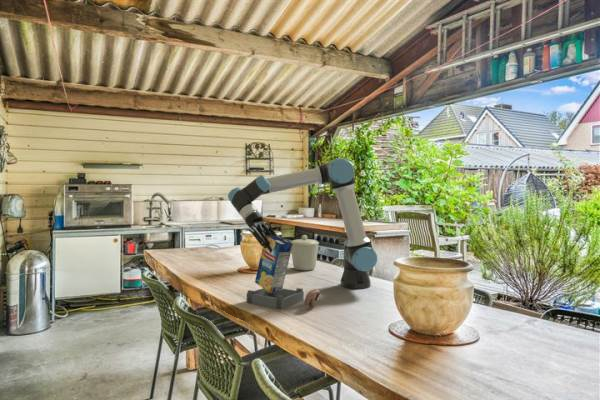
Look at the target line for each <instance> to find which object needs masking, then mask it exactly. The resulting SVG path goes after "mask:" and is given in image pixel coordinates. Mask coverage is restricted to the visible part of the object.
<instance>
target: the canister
mask: <svg viewBox="0 0 600 400" xmlns="http://www.w3.org/2000/svg"><path fill="white" fill-rule="evenodd" d="M290 242H291V243H293V245H292V250H291V257H292V258H291V260H292V265H293V268H294V269H295V271H296V270H297V271H301V272H302V271H303V272H304V271H305V272H306V271H312V270H315V268H316V267H317V259H318V249H319V244H320V242H318V240H316V239H311V238H310V239H309V238H308V236H307V234H303V235H302V236H301V238H298V239H294V240H292V241H290Z"/></svg>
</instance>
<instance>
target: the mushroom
mask: <svg viewBox="0 0 600 400" xmlns="http://www.w3.org/2000/svg"><path fill="white" fill-rule="evenodd" d="M320 294H321V291H320V290H319V289H317V288H315V289H311V290H309V291H308V292H307V293H306V295H305V297H304V301H303V304H304V305H305V306H308V307H309V309H310V310H313V308H314V307H315V305H316V302H317V300H318V298H319V297H320Z"/></svg>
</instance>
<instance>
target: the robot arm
mask: <svg viewBox="0 0 600 400" xmlns="http://www.w3.org/2000/svg"><path fill="white" fill-rule="evenodd" d="M316 184H319V185H320V186H321V185H327V184H329V185H330V188H331V191H333V192H335V194H336V199H337V202H338V207H339V210H340V214H341V217H342V221H343V226H344V229H345V231H346V232H345V233H346V236H347V240H344V242H343V272H342V275H341V279H340V286H341V287H342V288H347V289H355V290H357V289H366V288H370V287H371V286H372V284H371V279H370V276H369V273H368V272H369V271H371V270H372V269H373V268H375V266H376V265H377V263H378V254H377V252H376V250H375V249H374V247H373V244H372V241H371V238H369V237H368V236H367V233H366V231H365V227H364V223H363V219H362V215H361V212H360V208H359V204H358V199H357V196H356V193H355V189H354V187H355V185H356V179H355V167H354V164H353V163H352V162H351V160H349V159H347V158H344V157H337V158H334V159H333V160H330V161H329V162H326V163H323V164H319V165H316V167H315V168H311V169H305V170H301V171H296V172H291V173H287V174H280V175H276V176H271V177H265V175H262V174H260V175H259V176H257V177H256V178H255V179H253V180H251V182H249V183H248V184H247V185H246V186H245V187H243V188H241V187H239V186H238V187H235V188H232V189H231V190H230V191H229V192H228V193H227V194H228V195H227V198H228V200H229V201H230V204H231V205H232V207H233V208H234V209H235V210H236V211H237V213H238V214H239V215H240V217H241V218H242V219H243V220H244V222H245V224H246V225H247V226H248V227H249V229H248V231H249V232H250V233H251V234H252V236H253V237H254V239H255V240H257V241H256V242H258V243H259V245H260V246H261V247H262V248H263V246H264V248H266V247H267V248H268V250H269V251H270V252H272V248H271V247H270V245H269V244H270V243H269V241H268V239H267V238H266V236H265V235H278V234H277V232H276V231H275V230H274V229H273V227H272V225H271V224H270V223H269V224H268V225H267V223H265V222H264V221H263V220H264V218H263V216H262V214H261V213H260V212H259V211H258V209H257V208H256V206H255V205H254V204H253V202H254V201H255V200H257V199H258V198H260V197H261V196H263V195H268V194H272V193H276V192H281V191H287V190H291V189H296V188H297V189H298V188H301V187H306V186H311V185H316Z"/></svg>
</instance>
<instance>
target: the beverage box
mask: <svg viewBox="0 0 600 400" xmlns="http://www.w3.org/2000/svg"><path fill="white" fill-rule="evenodd" d="M265 236H266V238H267V239H268V241H269V243H270V244H269V245H270V247H271V248H272V252H270V251H269V250H268V248H267V247H266V248H264V246H263V247H262V248H261V253H260V256H259V263H258V268H257V272H256V277H255V280H254V283H255V284H257V285H258V286H259V287H261V289H262V288H264V289H265V290H266V291H268V292H269V293H273V292H279V291H282V288H283V287H284V283H285V279H286V274H287V271H288V267H289V261H290V257H291V255H292V251H291V250H292V245H293V243H291V242H292V241H290V240H287V239H285V238H284V237H281V236H279V235H278V234H277V235H265Z"/></svg>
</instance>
